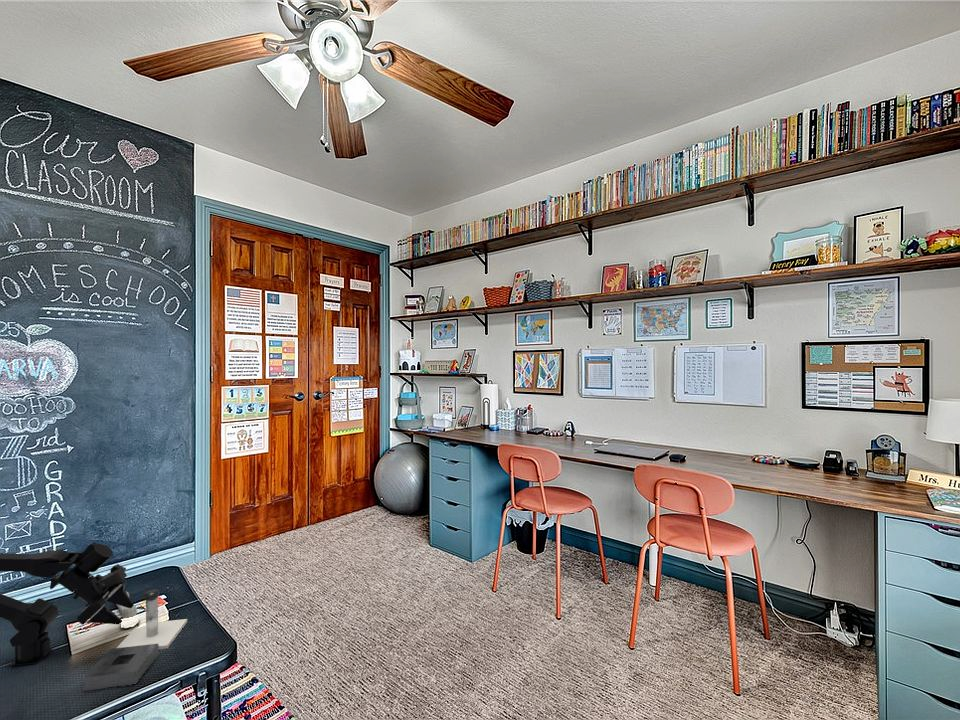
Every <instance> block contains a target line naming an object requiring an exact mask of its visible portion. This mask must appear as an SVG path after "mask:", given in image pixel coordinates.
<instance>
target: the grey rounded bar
mask: <svg viewBox="0 0 960 720" xmlns="http://www.w3.org/2000/svg"><path fill="white" fill-rule="evenodd" d="M126 593H127V595H128V596H129V597H130V592H128V591H126ZM115 605H116V607H117V608H118V610H119V611H120V612H121V617H123V618H129V617H133V616H134V615H136V614H137V613H138V609H137V606H136V604H134V606H133V607H132V608H127V607H124V606H121V605H117V604H115Z"/></svg>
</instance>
